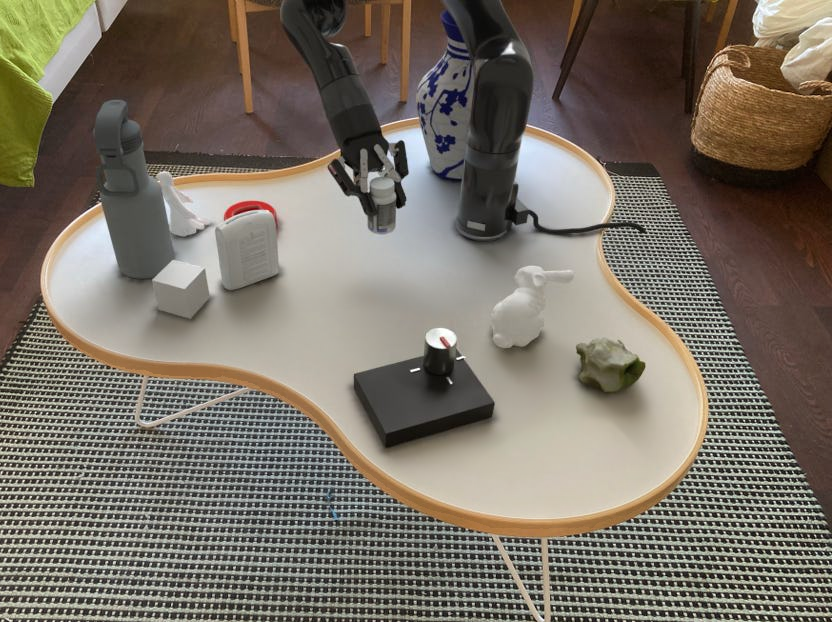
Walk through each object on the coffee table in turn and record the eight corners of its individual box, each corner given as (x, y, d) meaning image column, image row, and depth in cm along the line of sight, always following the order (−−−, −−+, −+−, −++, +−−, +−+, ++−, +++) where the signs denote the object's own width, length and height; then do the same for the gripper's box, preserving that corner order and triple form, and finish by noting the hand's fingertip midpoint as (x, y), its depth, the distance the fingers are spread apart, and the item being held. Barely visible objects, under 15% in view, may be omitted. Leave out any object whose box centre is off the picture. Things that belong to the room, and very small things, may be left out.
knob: (417, 359, 105) (419, 331, 102) (444, 350, 107) (447, 322, 103) (432, 378, 102) (435, 350, 99) (459, 369, 104) (463, 341, 100)
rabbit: (511, 304, 119) (523, 242, 111) (565, 326, 115) (581, 264, 107) (475, 344, 112) (485, 282, 104) (531, 369, 108) (546, 306, 100)
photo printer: (271, 261, 128) (265, 199, 120) (283, 274, 126) (278, 211, 117) (218, 281, 124) (208, 218, 116) (229, 294, 121) (220, 231, 113)
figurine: (164, 221, 138) (152, 163, 130) (206, 214, 140) (197, 156, 131) (169, 243, 132) (157, 183, 124) (213, 235, 134) (204, 176, 126)
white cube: (178, 289, 123) (173, 259, 118) (210, 297, 121) (205, 267, 117) (158, 309, 118) (151, 279, 114) (190, 319, 117) (184, 288, 113)
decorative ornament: (279, 214, 140) (277, 199, 137) (275, 242, 133) (274, 227, 130) (228, 214, 140) (226, 199, 137) (222, 242, 133) (220, 227, 130)
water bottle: (169, 282, 124) (136, 125, 105) (112, 282, 124) (68, 125, 105) (180, 248, 131) (151, 95, 112) (126, 248, 131) (87, 95, 112)
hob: (450, 353, 111) (452, 338, 109) (494, 417, 101) (497, 401, 99) (349, 380, 107) (349, 364, 104) (385, 448, 97) (385, 433, 95)
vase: (425, 195, 144) (438, 39, 124) (401, 151, 158) (409, 3, 138) (517, 186, 147) (543, 31, 127) (485, 143, 161) (505, -3, 140)
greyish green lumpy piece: (641, 407, 104) (653, 374, 98) (573, 403, 106) (581, 371, 100) (636, 355, 110) (647, 321, 103) (571, 352, 111) (578, 318, 105)
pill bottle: (399, 223, 124) (401, 178, 118) (388, 237, 120) (390, 192, 115) (373, 217, 125) (374, 172, 119) (362, 231, 122) (362, 186, 116)
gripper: (318, 113, 112) (358, 217, 113) (396, 92, 117) (434, 192, 118) (303, 132, 119) (341, 230, 120) (378, 111, 124) (414, 206, 125)
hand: (387, 211), depth 119 cm, fingers closed on pill bottle, 4 cm apart
